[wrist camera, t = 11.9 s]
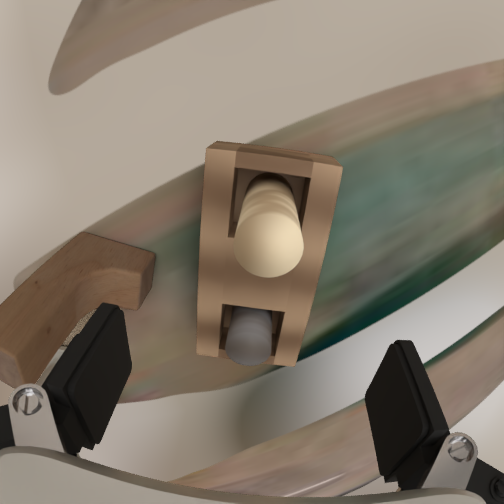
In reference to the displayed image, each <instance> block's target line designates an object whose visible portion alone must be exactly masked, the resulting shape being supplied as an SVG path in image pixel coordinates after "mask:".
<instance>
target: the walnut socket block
mask: <svg viewBox="0 0 504 504" xmlns="http://www.w3.org/2000/svg"><path fill="white" fill-rule="evenodd" d="M342 170H343V167H342V166H341V165H340V164H339V163H338V162H337V161H336V160H335V159H334V158H333V157H331V156H325V155H319V154H314V153H307V152H301V151H295V150H288V149H281V148H274V147H266V146H258V145H250V144H242V143H232V142H222V141H216V142H215V143H213V144H212V145H210V146H209V147H207V148H206V157H205V169H204V183H203V197H202V213H201V230H200V250H199V273H198V303H197V354H200V355H206V356H212V357H219V358H226V359H231V360H233V361H234V362H236V363H238V364H241V365H247V366H253V365H258V364H261V363H264V364H273V365H283V366H293V367H294V366H295V364H296V361H297V357H298V354H299V350H300V347H301V343H302V340H303V336H304V333H305V329H306V325H307V322H308V318H309V314H310V311H311V307H312V303H313V299H314V295H315V291H316V287H317V283H318V279H319V275H320V271H321V267H322V263H323V259H324V255H325V250H326V246H327V242H328V237H329V233H330V228H331V224H332V219H333V214H334V210H335V205H336V200H337V195H338V190H339V185H340V180H341V175H342ZM262 173H276V174H279V175H281V176H283V177H284V178H285V179H286V180H287V181H288V182H289V183H290V185H291V188H292V191H293V196H294V200H295V205H296V209H297V214H298V219H299V223H300V228H301V233H302V238H303V243H304V249H303V254H302V257H301V259H300V261H299V263H298V264H297V265H296V266H295V267H294V268H293V269H292V270H291V271H289V272H288V273H286V274H284V275H281V276H278V277H271V278H267V277H260V276H256V275H254V274H251V273H250V272H248V271H246V270H245V269H244V268H243V267H242V266H241V265H240V264H239V262H238V261H237V259H236V257H235V254H234V249H233V243H234V237H235V233H236V229H237V225H238V221H239V217H240V213H241V209H242V205H243V201H244V197H245V193H246V189H247V186H248V184H249V183H250V181H251V180H252V179H253V178H254V177H256V176H257V175H259V174H262Z"/></svg>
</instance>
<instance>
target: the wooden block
mask: <svg viewBox="0 0 504 504" xmlns="http://www.w3.org/2000/svg"><path fill="white" fill-rule="evenodd" d="M154 265H155V254H154V253H152V252H149V251H146V250H142V249H139V248H135V247H132V246H129V245H125V244H122V243H119V242H115V241H112V240H109V239H105V238H102V237H99V236H96V235H92V234H89V233H86V232H81V233H79V234H78V235H77V236H76V237H75V238H73V239H72V240H71V241H70V242H69V243H67V244H66V245H65V246H64V247H63V248H61V249H60V250H59V251H58V252H57V253H56V254H54V255H53V256H52V257H51V258H50V259H49V260H48V261H46V262H45V263H44V264H43V265H42V266H41V267H40V268H39V269H37V270H36V271H35V272H34V273H33V274H32V275H31V276H30V277H29V278H28V279H27V280H25V281H24V282H23V283H22V284H21V285H20V286H19V287H18V288H17V289H16V290H15V291H14V292H13V293H12V294H11V295H10V296H9V297H8V298H7V299H6V300H5V301H4V302H3V303H2V304H1V305H0V380H1V381H3V382H5V383H6V384H8V385H10V386H11V387H13V388H15V389H16V388H17V387H19V386H21V385H24V384H35V383H36V382H37V380H38V379H39V377H40V376H41V374H42V373H43V371H44V370H45V368H46V367H47V365H48V364H49V362H50V361H51V360H52V358H53V357H54V355H55V354H56V352H57V351H58V349H59V348H60V347H61V345H62V344H63V342H64V341H65V340H66V338H67V337H68V335H69V334H70V333H71V331H72V330H73V328H74V327H75V326H76V324H77V323H78V322H79V320H80V319H81V318H82V317H84V316H85V315H86V314H88V313H89V312H90V311H92V310H93V309H97V308H98V307H99V306H100V304H101V303H103V302H105V303H109V304H114V305H118V306H119V307H120V308H125V309H130V310H138V309H139V308H140V306H141V304H142V303H143V301H144V299H145V297H146V296H147V294H148V292H149V291H150V289H151V287H152V280H153V272H154Z"/></svg>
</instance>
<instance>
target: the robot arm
mask: <svg viewBox="0 0 504 504" xmlns="http://www.w3.org/2000/svg"><path fill="white" fill-rule="evenodd" d="M131 369H132V362H131V356H130V351H129V345H128V338H127V332H126V325H125V318H124V312H123V311H122V310H120V309H119V306H118V305H114V304H109V303H105V302H103V303H101V304H100V306H99V307H98V308H97V310H96V311H95V313H94V314H93V315H92V317H91V318H90V319H89V321H88V322H87V324H86V325H85V327H84V328H83V329H82V331H81V332H80V334H77V335H76V336H75V337H74V338H73V339H72V341H71V342H70V343H69V345H68V346H67V347H65V346H61V347H60V348H59V349H58V351H57V352H56V354H55V355H54V357H53V358H52V360H51V361H50V362H49V364H48V365H47V367H46V368H45V371H44V372H43V374H42V376H41V377H40V378H39V380H38V381H37V383H36V384H24V385H21V386H19V387H17V388H16V389H15V390H14V391H13V392H12V393H11V395H10V397H9V404H7V405H4V406H0V504H504V473H502V472H500V471H498V470H497V469H495V468H493V467H492V466H490V465H488V464H486V463H485V462H483V461H482V460H480V459H478V458H477V455H478V450H477V446H476V444H475V442H474V440H473V439H472V438H471V437H470V436H468V435H466V434H464V433H459V432H455V433H452V434H450V432H449V428H448V425H447V422H446V420H445V417H444V415H443V412H442V409H441V407H440V404H439V402H438V399H437V397H436V394H435V392H434V389H433V387H432V385H431V382H430V380H429V378H428V375H427V373H426V371H425V368H424V366H423V364H422V362H421V359H420V357H419V355H418V353H417V351H416V348H415V346H414V344H413V342H412V341H410V340H396V341H395V342H394V344H391V345H390V346H389V348H388V350H387V352H386V354H385V356H384V358H383V360H382V362H381V364H380V366H379V368H378V370H377V372H376V374H375V376H374V378H373V380H372V382H371V384H370V386H369V388H368V389H367V391H366V394H365V403H366V408H367V412H368V417H369V421H370V426H371V431H372V436H373V441H374V446H375V451H376V456H377V461H378V467H379V472H380V474H381V475H382V476H384V480H385V483H387V482H395V481H398V486H399V488H398V489H397V491H396V492H390V493H381V494H369V495H358V496H342V497H275V496H259V495H247V494H237V493H228V492H221V491H213V490H207V489H200V488H194V487H189V486H183V485H178V484H173V483H168V482H164V481H159V480H155V479H151V478H147V477H143V476H139V475H135V474H131V473H128V472H124V471H121V470H117V469H113V468H110V467H107V466H104V465H101V464H97V463H94V462H91V461H88V460H86V459H82V458H80V456H79V454H78V453H79V452H80V450H81V448H82V447H85V448H87V449H90V450H93V448H94V445H95V444H99V443H100V442H101V440H102V437H103V435H104V432H105V430H106V428H107V425H108V423H109V421H110V418H111V416H112V414H113V411H114V409H115V407H116V404H117V402H118V400H119V397H120V395H121V393H122V391H123V388H124V386H125V384H126V382H127V380H128V377H129V375H130V373H131Z"/></svg>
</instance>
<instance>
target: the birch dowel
mask: <svg viewBox="0 0 504 504" xmlns="http://www.w3.org/2000/svg"><path fill="white" fill-rule="evenodd" d="M233 249H234V254H235V257H236V259H237V261H238V262H239V264H240V265H241V266H242V267H243V268H244V269H245V270H246V271H248V272H250V273H251V274H254V275H256V276H260V277H267V278H271V277H278V276H281V275H284V274H286V273H288V272H289V271H291V270H292V269H293V268H294V267H295V266H296V265H297V264H298V263H299V261H300V259H301V257H302V254H303V249H304V243H303V238H302V233H301V228H300V223H299V219H298V214H297V209H296V205H295V200H294V196H293V191H292V188H291V185H290V183H289V182H288V181H287V180H286V179H285V178H284V177H283V176H281V175H279V174H276V173H262V174H259V175H257V176H256V177H254V178H253V179H252V180H251V181H250V183H249V184H248V186H247V189H246V193H245V197H244V201H243V205H242V209H241V213H240V217H239V221H238V225H237V229H236V233H235V237H234V243H233Z"/></svg>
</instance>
